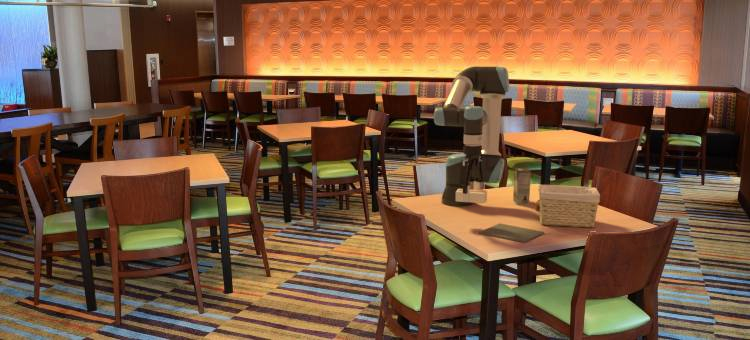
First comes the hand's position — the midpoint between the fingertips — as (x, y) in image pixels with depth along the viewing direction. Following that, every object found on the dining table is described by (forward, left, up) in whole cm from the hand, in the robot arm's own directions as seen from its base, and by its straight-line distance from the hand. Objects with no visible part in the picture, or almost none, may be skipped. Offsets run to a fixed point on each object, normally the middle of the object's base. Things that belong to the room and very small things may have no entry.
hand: (471, 199), depth 270 cm
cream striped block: (0, 0, -1) cm, 1 cm away
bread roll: (+13, +44, -11) cm, 47 cm away
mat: (+19, 0, -11) cm, 22 cm away
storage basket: (+29, +30, -11) cm, 43 cm away
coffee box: (-3, +51, -11) cm, 52 cm away
